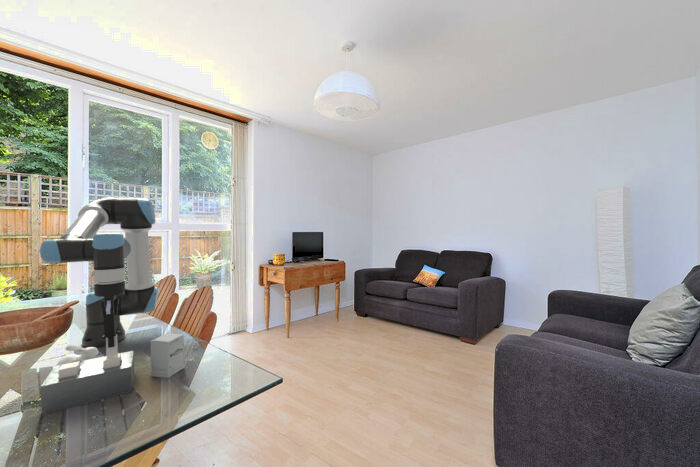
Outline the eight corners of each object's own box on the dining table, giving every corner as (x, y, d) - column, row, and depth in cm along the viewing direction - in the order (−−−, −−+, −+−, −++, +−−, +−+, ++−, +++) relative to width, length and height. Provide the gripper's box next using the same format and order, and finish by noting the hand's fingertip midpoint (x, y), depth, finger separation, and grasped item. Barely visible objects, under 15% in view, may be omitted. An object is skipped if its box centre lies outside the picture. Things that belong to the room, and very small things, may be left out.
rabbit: (101, 369, 106) (100, 337, 106) (84, 383, 97) (82, 347, 97) (62, 373, 104) (61, 339, 104) (40, 387, 95) (39, 351, 94)
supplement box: (168, 378, 100) (167, 341, 100) (150, 376, 101) (149, 340, 101) (185, 368, 107) (184, 333, 107) (167, 366, 109) (166, 332, 108)
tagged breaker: (105, 371, 94) (105, 356, 94) (121, 368, 96) (120, 353, 96) (103, 376, 91) (103, 360, 90) (120, 373, 93) (119, 357, 93)
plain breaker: (62, 380, 88) (61, 364, 88) (80, 377, 91) (79, 361, 90) (59, 387, 85) (58, 370, 85) (77, 382, 87) (76, 366, 87)
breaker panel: (56, 391, 93) (54, 364, 92) (134, 373, 104) (133, 349, 104) (41, 414, 81) (40, 384, 81) (131, 391, 92) (131, 364, 92)
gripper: (97, 280, 96) (99, 351, 96) (90, 286, 85) (93, 367, 86) (126, 277, 100) (128, 346, 101) (123, 283, 89) (125, 360, 90)
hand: (112, 355), depth 93 cm, fingers closed
